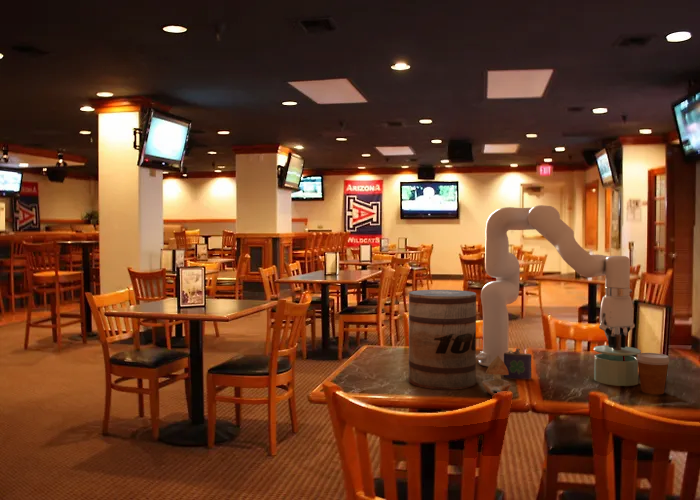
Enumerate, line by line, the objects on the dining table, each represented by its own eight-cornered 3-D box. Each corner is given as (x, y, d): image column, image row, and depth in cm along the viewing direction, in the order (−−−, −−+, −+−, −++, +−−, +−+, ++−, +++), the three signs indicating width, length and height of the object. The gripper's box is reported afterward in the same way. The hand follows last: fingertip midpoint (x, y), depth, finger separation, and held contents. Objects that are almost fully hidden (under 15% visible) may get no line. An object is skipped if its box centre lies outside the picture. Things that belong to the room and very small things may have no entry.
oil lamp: (511, 386, 208) (511, 356, 208) (510, 404, 187) (510, 370, 187) (484, 385, 210) (484, 355, 210) (480, 402, 190) (480, 369, 189)
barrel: (471, 391, 202) (472, 297, 201) (402, 386, 209) (402, 295, 208) (479, 376, 223) (479, 290, 222) (416, 371, 230) (416, 288, 229)
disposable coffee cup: (630, 389, 204) (630, 352, 204) (658, 389, 205) (659, 352, 205) (646, 397, 195) (646, 358, 194) (676, 397, 196) (676, 358, 195)
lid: (611, 358, 205) (612, 339, 204) (584, 349, 219) (584, 332, 219) (651, 355, 208) (651, 337, 208) (621, 347, 222) (621, 330, 222)
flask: (531, 379, 218) (531, 348, 218) (531, 381, 216) (531, 349, 215) (503, 377, 221) (503, 347, 221) (503, 379, 218) (503, 348, 218)
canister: (611, 388, 206) (611, 362, 205) (586, 379, 219) (586, 354, 219) (647, 386, 209) (647, 360, 209) (620, 376, 222) (620, 352, 222)
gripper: (630, 291, 219) (630, 344, 219) (589, 292, 215) (588, 346, 215) (645, 293, 211) (645, 348, 212) (603, 294, 207) (602, 350, 208)
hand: (616, 346), depth 213 cm, fingers closed on lid, 2 cm apart
